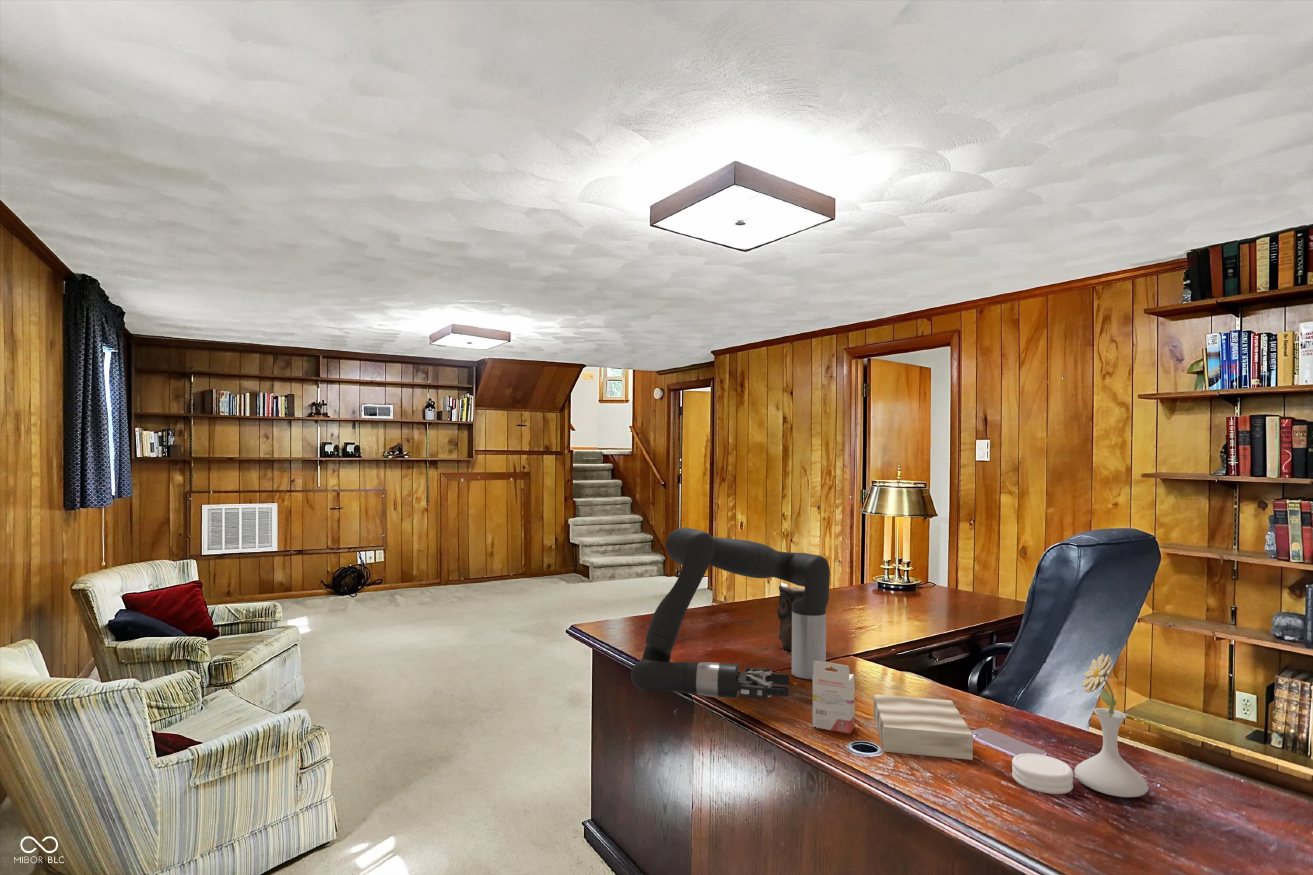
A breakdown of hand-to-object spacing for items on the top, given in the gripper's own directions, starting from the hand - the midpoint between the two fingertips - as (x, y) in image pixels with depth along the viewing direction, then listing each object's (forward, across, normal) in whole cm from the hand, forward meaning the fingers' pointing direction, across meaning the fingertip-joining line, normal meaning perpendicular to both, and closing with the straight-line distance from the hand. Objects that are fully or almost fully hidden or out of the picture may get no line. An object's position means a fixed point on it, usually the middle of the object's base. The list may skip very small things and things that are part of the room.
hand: (789, 685), depth 157 cm
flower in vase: (+58, -19, +9) cm, 61 cm away
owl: (+4, +61, +9) cm, 62 cm away
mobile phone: (+45, -1, +9) cm, 46 cm away
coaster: (+47, -18, +9) cm, 51 cm away
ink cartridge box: (+10, 0, +9) cm, 13 cm away
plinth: (+28, -1, +8) cm, 29 cm away
